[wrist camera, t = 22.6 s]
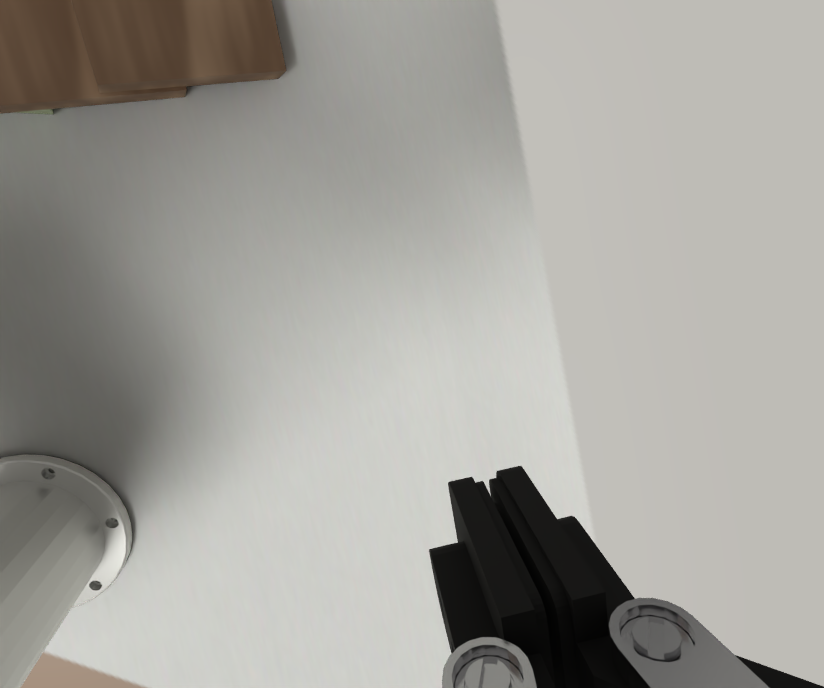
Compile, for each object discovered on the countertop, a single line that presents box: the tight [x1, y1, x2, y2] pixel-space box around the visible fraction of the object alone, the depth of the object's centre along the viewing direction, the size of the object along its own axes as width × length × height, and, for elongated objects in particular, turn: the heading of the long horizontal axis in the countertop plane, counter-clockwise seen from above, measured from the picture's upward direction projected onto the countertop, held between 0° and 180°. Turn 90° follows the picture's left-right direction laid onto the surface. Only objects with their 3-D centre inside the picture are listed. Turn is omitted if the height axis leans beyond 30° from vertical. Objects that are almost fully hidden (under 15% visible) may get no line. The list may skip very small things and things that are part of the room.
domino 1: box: [0, 0, 187, 113], centre depth 29 cm, size 2×5×10 cm
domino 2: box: [71, 0, 286, 93], centre depth 29 cm, size 2×5×10 cm
